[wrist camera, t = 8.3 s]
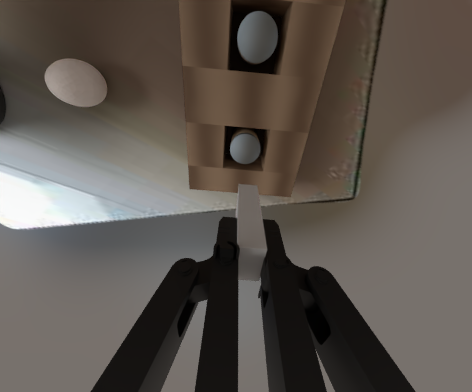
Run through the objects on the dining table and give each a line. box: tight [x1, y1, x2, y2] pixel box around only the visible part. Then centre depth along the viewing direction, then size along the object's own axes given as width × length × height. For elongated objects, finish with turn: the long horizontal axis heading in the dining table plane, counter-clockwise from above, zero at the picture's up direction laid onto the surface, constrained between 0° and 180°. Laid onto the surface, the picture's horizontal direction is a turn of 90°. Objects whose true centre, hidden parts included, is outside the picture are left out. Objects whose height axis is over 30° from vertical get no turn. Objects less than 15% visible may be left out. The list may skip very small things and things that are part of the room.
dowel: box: [230, 127, 260, 164], centre depth 29 cm, size 4×4×6 cm
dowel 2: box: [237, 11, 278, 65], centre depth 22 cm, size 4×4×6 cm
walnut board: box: [179, 0, 346, 197], centre depth 26 cm, size 16×26×6 cm, turn 175°
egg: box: [45, 58, 107, 107], centre depth 24 cm, size 5×5×8 cm
